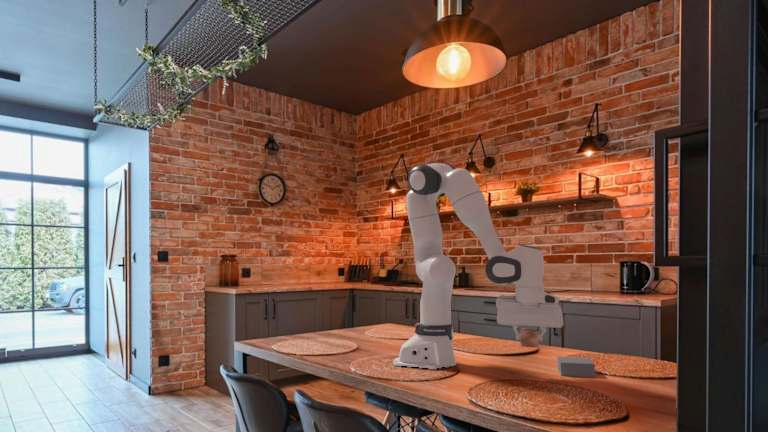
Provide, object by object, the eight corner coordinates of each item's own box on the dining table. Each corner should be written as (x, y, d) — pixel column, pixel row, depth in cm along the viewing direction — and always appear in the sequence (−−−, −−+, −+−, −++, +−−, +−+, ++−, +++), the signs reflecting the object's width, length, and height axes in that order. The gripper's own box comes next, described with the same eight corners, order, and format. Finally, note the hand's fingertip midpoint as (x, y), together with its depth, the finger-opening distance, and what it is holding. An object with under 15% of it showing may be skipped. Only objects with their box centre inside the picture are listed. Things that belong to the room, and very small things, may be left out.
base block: (561, 375, 154) (560, 362, 155) (557, 368, 164) (557, 356, 164) (595, 377, 152) (594, 364, 152) (589, 369, 162) (589, 357, 162)
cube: (521, 346, 152) (521, 330, 152) (520, 343, 157) (520, 328, 157) (538, 347, 151) (538, 331, 151) (536, 344, 156) (536, 329, 156)
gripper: (495, 295, 154) (495, 339, 153) (564, 298, 150) (564, 344, 149) (495, 294, 161) (495, 336, 159) (561, 297, 156) (561, 341, 155)
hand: (529, 340), depth 154 cm, fingers closed on cube, 5 cm apart
